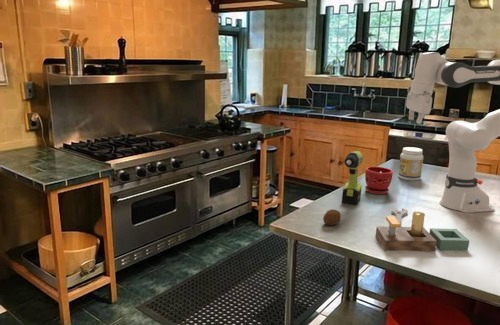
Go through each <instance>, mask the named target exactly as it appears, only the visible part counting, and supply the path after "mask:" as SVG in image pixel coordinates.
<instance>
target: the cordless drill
mask: <svg viewBox="0 0 500 325" xmlns="http://www.w3.org/2000/svg"><path fill="white" fill-rule="evenodd" d="M363 162H364V155H363V153H362V152H361V151H358V150H354V151H351V152H349V153H348V154H347V155H346V156H345V158H344V165H345V166H346V167H347V168H348V170H349V180H348V181H349V182H346V184H345V185H344V187H343V190H342V195H341V203H342V204H344V205H353V206H357V205H358V204H359V202H360V201H361V196H362V184H360V183H358V169H359V167H360V165H362V164H363Z"/></svg>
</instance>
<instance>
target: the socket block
mask: <svg viewBox="0 0 500 325" xmlns="http://www.w3.org/2000/svg"><path fill="white" fill-rule="evenodd" d="M375 228H376V230H375V237H376V239H377V240H378V242H379V243H380V246H381V247H382V248H383V250H384V251H388V252H389V251H395V252H405V251H407V252H436V249H437V247H436V243H437V241H436V240H435V239H434V238H433V237H432V236H431V235H430V233H429V232H430V231H428V230H427V229H426V228H425V227H424V226H423V232H422V237H411V236H410V233H411V226H400V227H396V232H395V236H391V235H390V234H389V226H380V225H379V226H376V227H375Z"/></svg>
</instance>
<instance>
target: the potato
mask: <svg viewBox="0 0 500 325" xmlns="http://www.w3.org/2000/svg"><path fill="white" fill-rule="evenodd" d="M341 216H342V214H341V212H340V210H337V209H332V208H331V209H329V210H327V211H326V212H325V213H324V215H323V218H322V219H323V223H324V224H325V225H327V226H333V225H334V226H335V225H337V224H338V223H340V221H341V219H342V217H341Z"/></svg>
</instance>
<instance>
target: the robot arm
mask: <svg viewBox="0 0 500 325" xmlns="http://www.w3.org/2000/svg"><path fill="white" fill-rule="evenodd" d="M416 62H417V63H416V65H415V69H414V78H413V79H412V82H411V85H409V86H408V88H407V95H406V105H405V106H406V108H407V109H409V111H408V120H410V121H414V119H415V113H418V114H417V115H418V116H417V118H416V121H415V122H416V123H417V124H418V125H419V124H422V121H423V119H424V118H425V115H430V113H431V110H432V104H433V97H432V95H433V92H434V87H435V83H436V84H439V85H442V86H446V87H447V86H448V87H450V88H456V89H457V88H461V87H464V86H466V85H467V84H470V83H482V82H484V83H485V82H487V83H489V84H492V85H499V86H500V59H494V60H492V61H490V62H489V63H488V64H487V65H477V66H476V65H475V66H472V65H468V64H466V63H464V62H459V61H458V62H457V61H454V62H451V61H449V60H448V59H445V57H443V56H442V55H441V54H440V52H438V51H437V52H436V51H435V52H434V51H431V52H430V51H429V52H423V53H421V54H420V55H419V57H418V59H417V61H416ZM445 135H446V138H447V141H448V152H449V153H448V154H449V163H448V169H447V170H448V171H447V174H446V176H445V185H444V186H445V187H444V191H443V194H442V197H441V199H440V201H439V204H440V205H441V206H443V207H445V208H448V209H450V210H456V211H459V212H462V213H479V212H481V213H482V212H494V211H495V207H494V205H492V204H491V203H490V196H489V195H488V194H487V192H485V191H484V190H483V189H482V188H481V187H480V186H478V185H483V183H484V181H483V180H481V179H480V178H479V179H478V178H477V177H476V169H477V166H478V164H477V162H478V161H477V158H476V154H475V151H477V152H478V151H483V150H485V149H487V148H488V147H489V146H490V144H491V142H492V141H494V140H496V139H497V138H499V137H500V108H499V109H496V110H494V111H491V112H489V113H487V114H486V115H485V116H484V118H482V119H481V120H479V121H475V122H468V121H466V120H453V121H451V122H450V123H449V124H448V125H447V126H446V129H445Z"/></svg>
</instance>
